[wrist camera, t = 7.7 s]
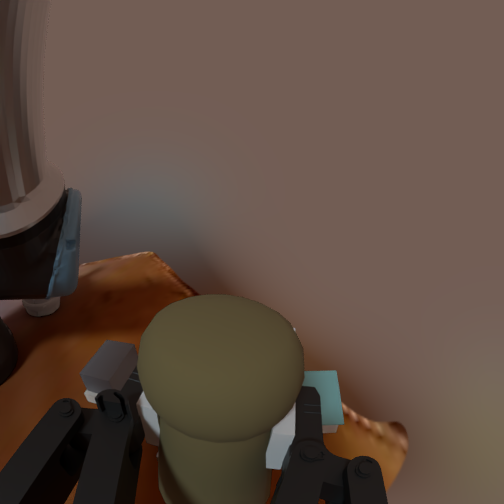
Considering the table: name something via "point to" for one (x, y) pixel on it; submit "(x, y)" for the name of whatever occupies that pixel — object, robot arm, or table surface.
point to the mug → (41, 306)
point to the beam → (125, 360)
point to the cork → (218, 395)
